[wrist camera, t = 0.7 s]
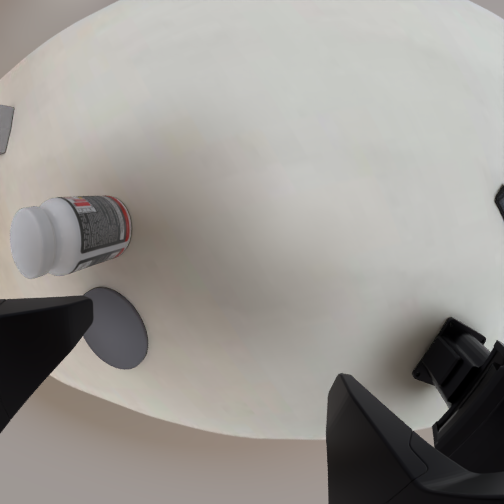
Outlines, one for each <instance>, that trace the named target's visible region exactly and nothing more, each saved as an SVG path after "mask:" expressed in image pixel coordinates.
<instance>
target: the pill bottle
mask: <svg viewBox="0 0 504 504" xmlns="http://www.w3.org/2000/svg"><path fill="white" fill-rule="evenodd" d="M130 237H131V219H130V216H129V213H128V211H127V209H126V207H125V206H124V204H123V203H122V202H121V201H119V200H118V199H117V198H115V197H112V196H77V197H57V198H51V199H48V200H46V201H45V202H43V203H42V204H41V205H40V207H37V206H33V207H26V208H21V209H20V210H18V211H17V212H16V214H15V216H14V218H13V220H12V224H11V229H10V245H11V251H12V256H13V259H14V262H15V264H16V266H17V268H18V270H19V271H20V272H21V274H22V275H23V276H25V277H26V278H29V279H34V278H37V277H40V276H43V275H46V274H47V273H50V274H52V275H55V276H63V275H67V274H70V273H73V272H76V271H78V270H81V269H84V268H87V267H90V266H92V265H95V264H98V263H101V262H104V261H107V260H110V259H113V258H115V257H117V256H119V255H120V254H122V253H123V252H124V250H125V249H126V248H127V246H128V244H129V241H130Z"/></svg>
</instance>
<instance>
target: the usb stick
mask: <svg viewBox="0 0 504 504" xmlns="http://www.w3.org/2000/svg"><path fill="white" fill-rule="evenodd" d="M495 202H496V203H497V205H498V207H499V209H500V211H501V213H502V215H503V217H504V186H503V187H502V188H501V190H500V192H499V193H498V194H497V196H496V201H495Z"/></svg>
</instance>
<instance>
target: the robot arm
mask: <svg viewBox="0 0 504 504" xmlns="http://www.w3.org/2000/svg"><path fill="white" fill-rule="evenodd" d="M93 319H94V314H93V301H92V299H91V298H88V297H86V296H83V295H82V296H66V297H47V298H24V299H7V300H6V299H0V433H1V432H2V431H3V429H4V428H5V427H6V425H7V424H8V423H9V421H10V419H12V418H13V416H14V415H15V414H16V413H17V412H18V410H19V409H20V408H21V407H22V406H23V404H24V403H25V402H26V401H27V400H28V398H29V397H30V396H31V395H32V394H33V393H34V391H35V390H36V389H37V388H38V387H39V386H40V385H41V383H42V382H43V381H44V380H45V379H46V378H47V377H48V376H49V375H50V373H51V372H52V371H53V370H54V369H55V368H56V367H57V366H58V365H59V364H60V363H61V361H62V360H63V359H64V358H65V357H66V356H67V355H68V354H69V353H70V352H71V351H72V349H73V348H74V347H75V346H76V344H77V343H78V342H79V340H80V339H81V338H82V336H83V335H84V334H85V333H86V331H87V330H88V329H89V327H90V326H91V325H92V323H93ZM451 322H452V324H451V325H450V323H451ZM481 340H482V341H481ZM485 341H486V338H485V337H484V336H483V335H482V334H480V333H478V332H476V331H475V330H473V329H471V328H470V327H468V326H466V325H465V324H463V323H461V322H459V321H458V320H456V319H454V318H452V317H451V318H449V319H448V320H447V321H446V323H445V325H444V327H443V328H442V330H441V331H440V333H439V335H438V336H437V338H436V339H435V341H434V342H433V344H432V345H431V347H430V348H429V350H428V351H427V353H426V354H425V356H424V357H423V359H422V360H421V361H420V363H419V364H418V365H417V367H416V368H415V370H414V371H413V373H412V375H413V377H414V378H415V379H417V380H420V381H423V382H426V383H429V384H432V385H434V386H436V388H437V389H438V391H439V393H440V394H441V396H442V398H443V399H444V401H445V403H446V404H447V406H448V408H449V410H448V411H447V412H446V413H445V414H444V415H443V416H442V417H441V419H440V420H439V421H437V422H436V423H435V424H434V425H433V426H432V429H433V437H434V447H435V448H434V447H432V446H431V445H430V444H428V443H427V442H426V441H425V440H424V439H422V438H421V437H420V436H419V435H418V434H417V433H415V432H414V431H412V429H411V428H410V427H408V426H407V425H406V424H405V423H404V422H403V421H402V420H400V419H399V418H398V417H397V416H396V415H395V414H394V413H393V412H391V411H390V410H389V409H388V408H387V407H386V406H385V405H384V404H382V403H381V402H380V401H379V400H378V399H377V398H376V397H375V396H373V395H372V394H371V393H370V392H369V391H368V390H367V389H366V388H365V387H363V386H362V385H361V384H360V383H359V382H358V381H357V380H356V379H355V378H354V377H352V376H351V375H349V374H343V373H340V374H338V376H337V377H336V379H335V381H334V383H333V385H332V387H331V389H330V391H329V394H328V406H327V424H326V443H327V462H328V496H329V504H504V344H503V343H501V342H500V341H498V340H497V341H496V343H495V344H494V348H493V350H492V351H491V352H490V351H489V350H488V349H487V348H486V347H485V346H484V343H485ZM418 372H419V373H418ZM417 373H418V374H417Z"/></svg>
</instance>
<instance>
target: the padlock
mask: <svg viewBox="0 0 504 504" xmlns="http://www.w3.org/2000/svg"><path fill="white" fill-rule="evenodd" d="M13 111H14V107H11V106H5V105H0V154H2V153H5V151H6V146H7V142H8V137H9V133H10V129H11V124H12V116H13Z"/></svg>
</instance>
